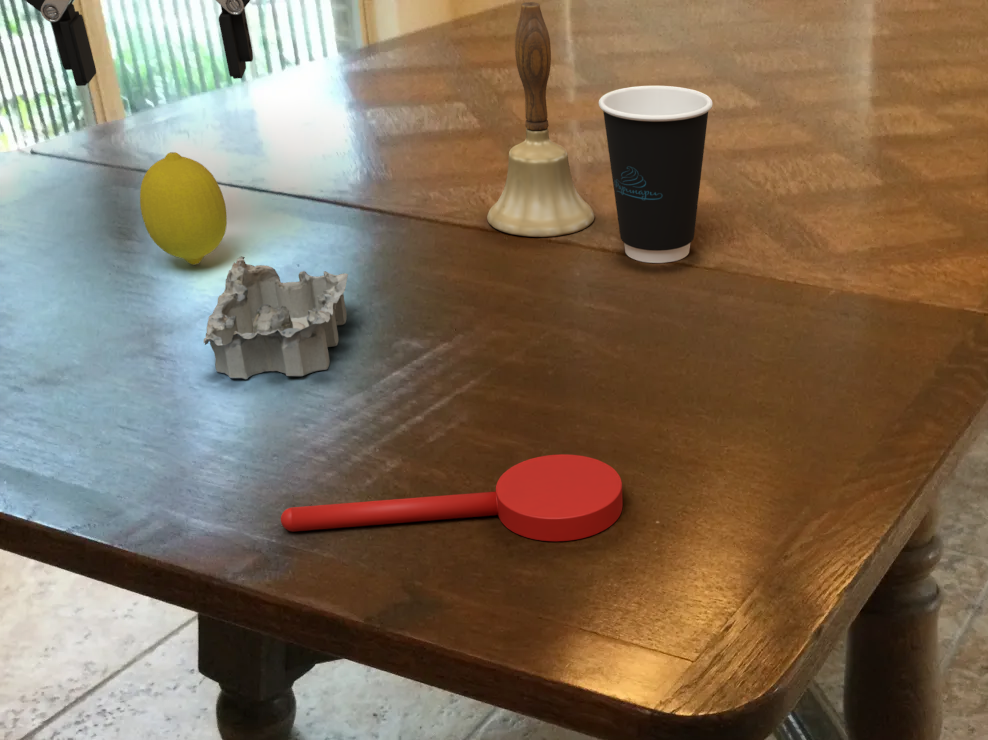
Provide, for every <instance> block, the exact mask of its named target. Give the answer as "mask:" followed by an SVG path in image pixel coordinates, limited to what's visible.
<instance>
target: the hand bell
mask: <svg viewBox="0 0 988 740" xmlns="http://www.w3.org/2000/svg"><path fill="white" fill-rule="evenodd" d="M551 46H552V45H551V39H550V34H549V30H548V27H547V24H546V22H545V19H544V17H543V13H542V9H541V5H540V3H538V2H535V1H527V2H523V3H521V5H520V14H519V17H518V21H517V25H516V29H515V35H514V51H515V52H514V54H515V55H514V56H515V62H516V67H517V72H518V76H519V78H520V81H521V84H522V87H523V91H524V101H525V102H524V105H525V106H524V107H525V109H524V110H525V123H524V124H525V125H524V126H525V128H526V129H525V140H523V141H522V142H520V143H518V144H515V145H513V146H512V147H511V148H510V150H509V152H508V164H507V173H506V178H505V179H506V180H505V183H504V187H503V190H502V193H501V194H500V196H499V198H498V200H497V201H496V202H495V203H494V204H492V206H491V207H490V208H489V211H488V213H487V215H486V220H487V222H488V224H489V225H490V226H491V227H493V229H494V230H498V231H500V232H502V233H505V234H509V235H515V236H520V237H528V238H531V237H532V238H551V237H559V236H565V235H570V234H574V233H578V232H581V231H583V230H584V229H586V228H588V227H589V226H591V225H592V223H593V222H594V221H595V213H594V211H593V208H592V207H591V206H590V204H589V203H587V201H585V200H584V199H583V198H582V196H581V195H580V194H579V192H578V190H577V187H576V185H575V183H574V180H573V176H572V173H571V168H570V162H569V153H568V151H567V149H566V148H565V147H564V146H563V145H560V144H559V143H557V142H554V141H552V140H551V138H550V134H549V133H550V132H549V127H550V125H549V120H548V107H547V87H548V82H549V77H550V73H551V64H552V49H551V48H552V47H551Z"/></svg>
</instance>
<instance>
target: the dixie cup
mask: <svg viewBox="0 0 988 740" xmlns="http://www.w3.org/2000/svg"><path fill="white" fill-rule="evenodd" d="M598 106H599V108H600V109H601V111H602V113H603V119H604V127H605V134H606V142H607V148H608V150H607V151H608V158H609V164H610V170H611V178H612V179H611V180H612V184H613V194H614V201H615V209H616V215H617V222H618V230H619V237H620V240H621V241H622V242H623V246H624V252H625V255H626V256H627V257H628V258H631V259H632V260H634V261H635V260H636V261H637V262H642V263H651V264H664V263H665V264H666V263H672V262H677V261H680V260H682V259H684V258H686V257H687V256H688V255H689V254H690V249H691V243H692V241H693V240H694V238H695V231H696V223H697V214H698V205H699V204H698V203H699V196H700V189H701V188H700V187H701V179H702V171H703V162H704V161H703V160H704V152H705V145H706V136H707V126H708V118H709V111H710V110H711V109H712V108H713V100H712V98H711V97H710V96H709V95H708V94H706V93H704V92H701V91H698V90H695V89H692V88H688V87H687V88H686V87H682V86H681V87H680V86H672V85H671V86H670V85H636V86H630V87H622V88H619V89H615V90H611V91H609V92H606V93H605V94H603V95H602V96H601V97H600V98H599V100H598Z"/></svg>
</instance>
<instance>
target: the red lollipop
mask: <svg viewBox="0 0 988 740" xmlns="http://www.w3.org/2000/svg"><path fill="white" fill-rule="evenodd" d="M623 505H624V504H623V481H622V478H621V476H620V474H619V473H618V471H616V469H615V468H613V467H612V466H611V465H609V464H607V462H606V463H605V462H604V461H601V460H600V459H596V458H594V457H591V456H590V457H589V456H585V455H579V454H566V453H565V454H564V453H563V454H548V455H547V454H546V455H541V456H537V457H532V458H529V459H526V460H524V461H521V462H519V463H517V464H514V465H513V466H511V467H509V468H508V469H506V471H505V472H504V473H502V475H500V476H499V478H498V480H497V482H496V485H495V491H485V492H472V493H459V494H457V493H456V494H447V495H446V494H445V495H444V494H443V495H433V496H431V495H430V496H421V497H420V496H418V497H407V498H395V499H380V500H370V501H368V500H367V501H356V502H342V503H329V504H319V505H306V506H304V505H303V506H293V507H292V506H291V507H288V508H286V509H285V510H284V511H283V512H282V514H281V516H280V523H281V525H282V527H283V528H284V530H286V531H289V532H303V531H304V532H305V531H316V530H317V531H318V530H330V529H342V528H353V527H355V528H356V527H367V526H378V525H379V526H380V525H392V524H404V523H416V522H428V521H430V522H431V521H440V520H453V519H466V518H476V517H477V518H479V517H489V516H498V518H499V520H500V522H501V523H502V524H503V526H504V527H506V528H507V529H508V530H509V531H511V532H512V533H514V534H516V535H518V536H521V537H524V538H527V539H530V540H535V541H541V542H554V543H555V542H557V543H558V542H569V541H576V540H583V539H585V538H589V537H592V536H595V535H597V534H599V533H602V532H604V531H606V530H607V529H609V528H610V527H611V526H612V525H613V524H615V523H616V522H617V520H618V519H619V518H620V516H621V514H622V511H623Z"/></svg>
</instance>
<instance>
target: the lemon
mask: <svg viewBox="0 0 988 740" xmlns="http://www.w3.org/2000/svg"><path fill="white" fill-rule="evenodd" d="M139 190H140V191H139V206H140V213H141V217H142V220H143V223H144V226H145V228H146V231H147V233H148V235H149V237H150V238H151V240H152V241H153V243H154V244H155V245H156V246H157V247H159V248H160V249H161V250H162V251H164V252H165V253H166V254H168V255H170V256H173V257H176V258H180V259H183V260H184V261H186V262H187V263H189V264H190V265H193V266H194V265H199V264H200V263H201V262H202V260H203V259H204V258H205V256H206V255H209V254H210V253H212V252H214V251H215V250H216V249H217V248H218V247H219V245H220V244H221V243H222V241H223V239H224V237H225V234H226V230H227V224H228V223H227V221H228V218H227V207H226V202H225V198H224V195H223V193H222V190H221V187H220V185H219V183H218V181H217V179H216V178H215V177H214V175H213V174H212V173H211V172H210V170H208V168H207V167H206V166H205V165H203V164H201V163H200V162H199V161H197V160H194V159H192V158H190V157H186V156H182V155H181V154H179V153H178V152H174V151H172V152H168V153H167V154H166V155H165V156H164V158H161V159H160V160H157V161H156V162H155V163H154V164H152V165H151V166H150V167H149V168H148V170H147V171H146V172H145V174H144V176H143V178H142V181H141V184H140V189H139Z"/></svg>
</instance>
